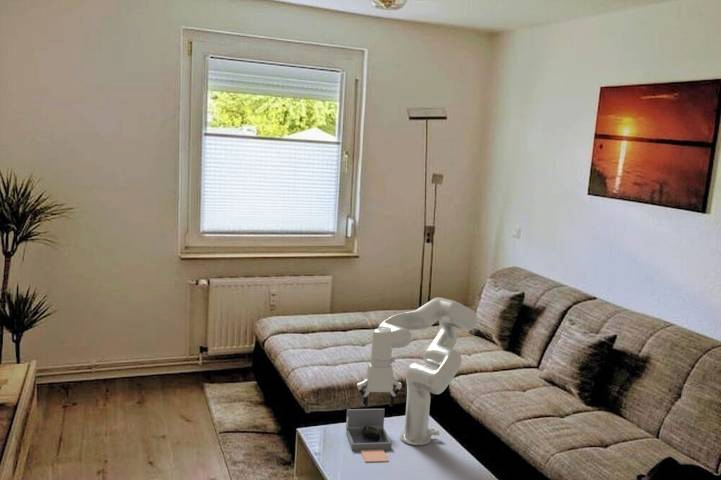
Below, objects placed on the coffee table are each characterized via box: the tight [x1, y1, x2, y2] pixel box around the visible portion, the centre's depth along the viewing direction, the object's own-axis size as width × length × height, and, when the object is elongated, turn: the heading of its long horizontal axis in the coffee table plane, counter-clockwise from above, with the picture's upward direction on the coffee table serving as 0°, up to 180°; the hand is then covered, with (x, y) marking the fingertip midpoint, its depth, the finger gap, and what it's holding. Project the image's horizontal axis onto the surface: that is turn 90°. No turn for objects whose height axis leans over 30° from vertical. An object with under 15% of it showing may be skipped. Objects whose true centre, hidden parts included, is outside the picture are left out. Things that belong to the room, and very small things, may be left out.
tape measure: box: [361, 426, 381, 442], centre depth 246 cm, size 7×7×4 cm
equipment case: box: [345, 408, 392, 451], centre depth 244 cm, size 16×15×10 cm
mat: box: [360, 449, 390, 463], centre depth 232 cm, size 9×9×1 cm
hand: (378, 405), depth 230 cm, fingers open, 9 cm apart
